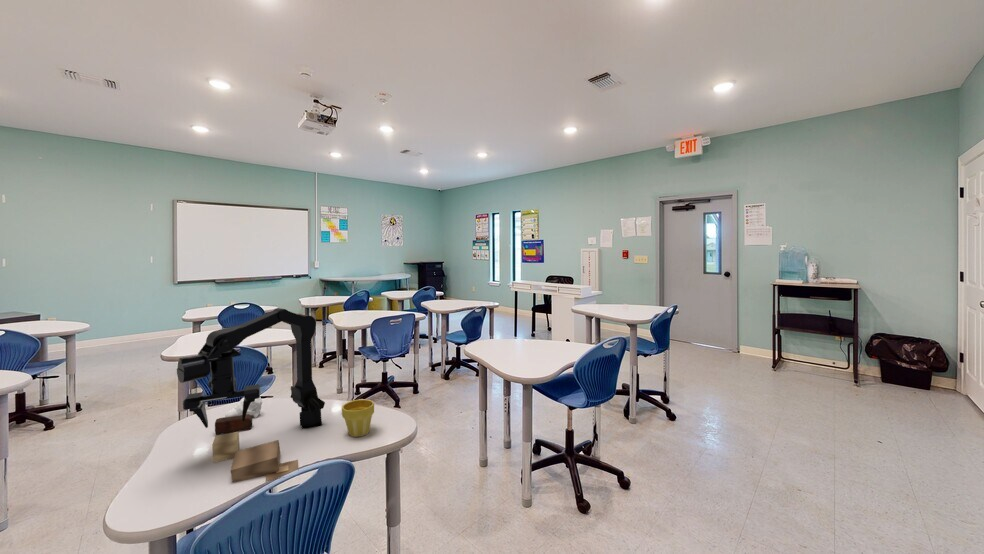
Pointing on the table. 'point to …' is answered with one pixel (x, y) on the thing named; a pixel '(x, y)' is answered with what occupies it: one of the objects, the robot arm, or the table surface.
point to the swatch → (283, 470)
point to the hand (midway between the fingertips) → (225, 424)
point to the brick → (232, 424)
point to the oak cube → (225, 446)
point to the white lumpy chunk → (252, 410)
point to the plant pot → (358, 416)
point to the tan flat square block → (256, 461)
